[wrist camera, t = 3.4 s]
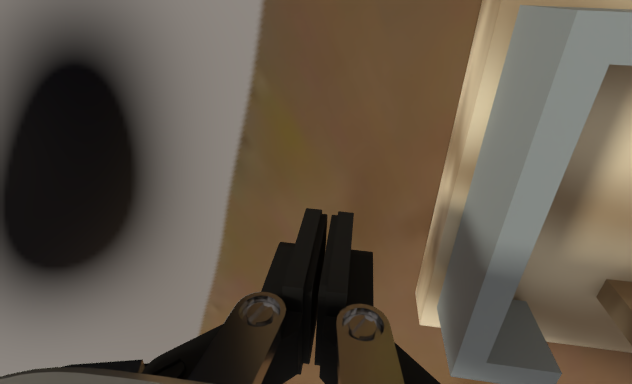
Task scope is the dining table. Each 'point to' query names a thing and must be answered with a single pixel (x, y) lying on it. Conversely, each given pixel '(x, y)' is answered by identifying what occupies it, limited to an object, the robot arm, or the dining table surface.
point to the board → (567, 207)
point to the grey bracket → (523, 187)
